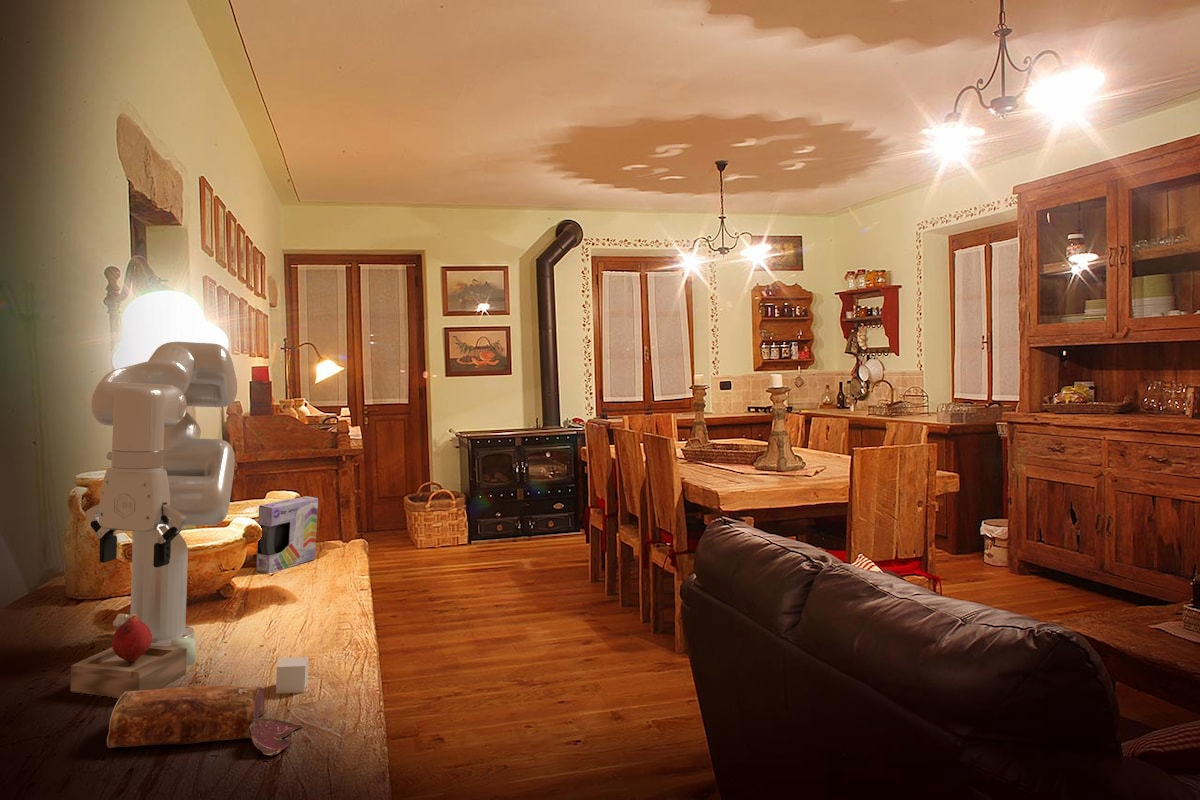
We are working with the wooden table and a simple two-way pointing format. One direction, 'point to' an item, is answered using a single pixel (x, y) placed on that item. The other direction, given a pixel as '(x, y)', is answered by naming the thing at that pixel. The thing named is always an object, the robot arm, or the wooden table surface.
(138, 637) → the red fruit
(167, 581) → the robot arm
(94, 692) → the shallow wooden tray
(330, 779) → the wooden table surface
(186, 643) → the sage painted capsule
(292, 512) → the cake pan box
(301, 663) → the grey ceramic cube
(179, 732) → the cured meat
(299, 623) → the wooden table surface
